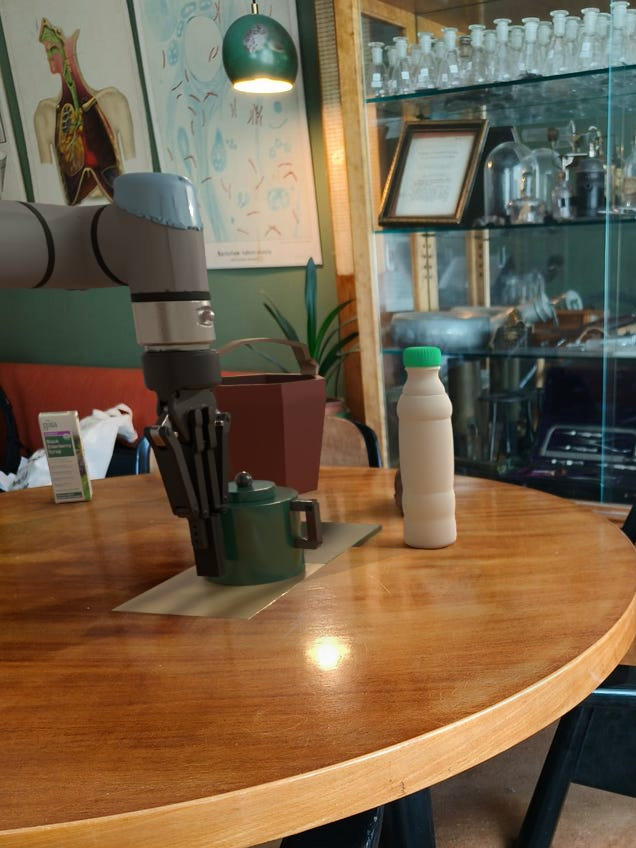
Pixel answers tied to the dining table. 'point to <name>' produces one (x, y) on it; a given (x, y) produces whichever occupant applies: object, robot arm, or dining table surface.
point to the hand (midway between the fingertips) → (211, 574)
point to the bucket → (275, 421)
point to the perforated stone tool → (398, 489)
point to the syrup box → (65, 456)
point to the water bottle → (426, 452)
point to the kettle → (265, 532)
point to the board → (244, 601)
